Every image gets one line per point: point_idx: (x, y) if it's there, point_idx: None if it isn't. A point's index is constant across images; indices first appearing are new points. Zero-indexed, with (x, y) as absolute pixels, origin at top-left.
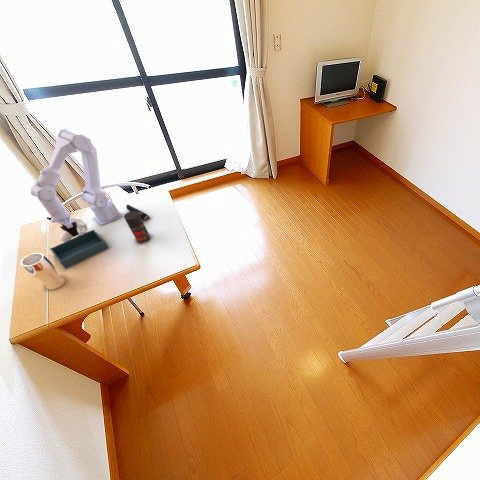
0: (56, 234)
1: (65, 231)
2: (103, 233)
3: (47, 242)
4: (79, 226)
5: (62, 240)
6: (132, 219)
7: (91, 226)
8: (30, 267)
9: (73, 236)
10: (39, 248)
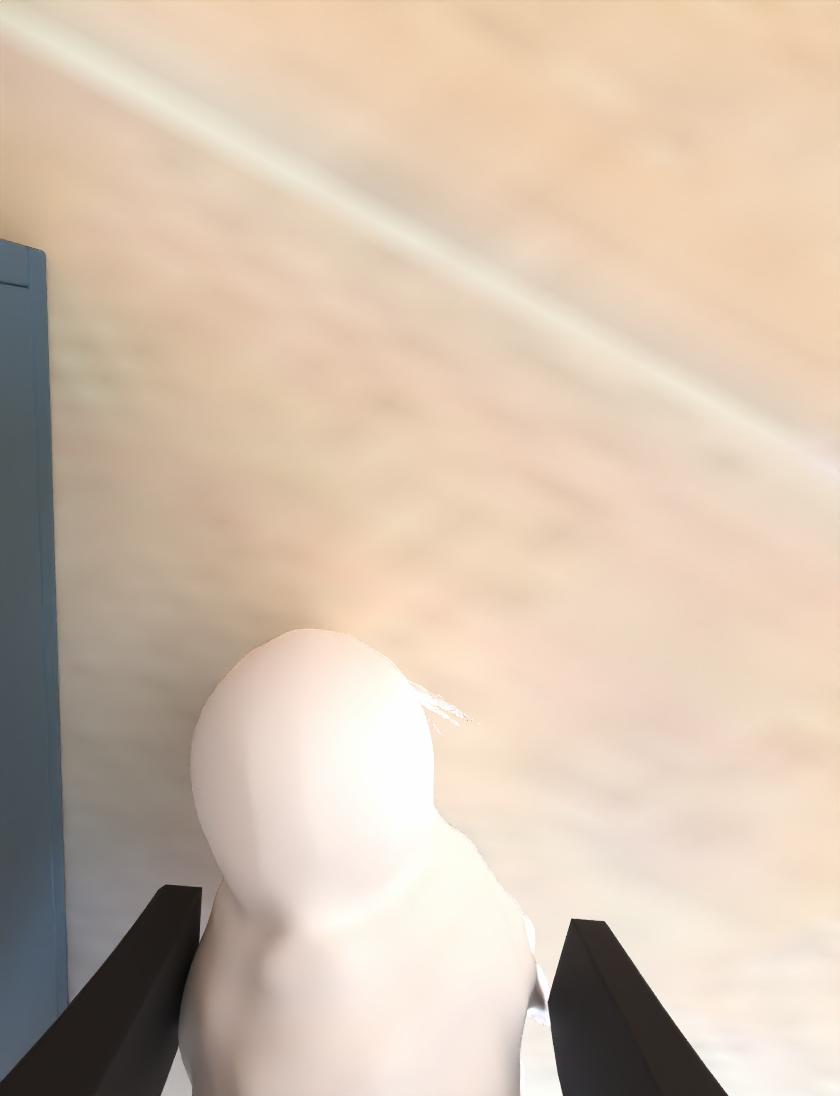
0: (788, 639)
1: (303, 993)
2: None
3: (710, 392)
4: None
5: (253, 660)
6: None
7: None
8: None
9: (159, 893)
10: (668, 148)
